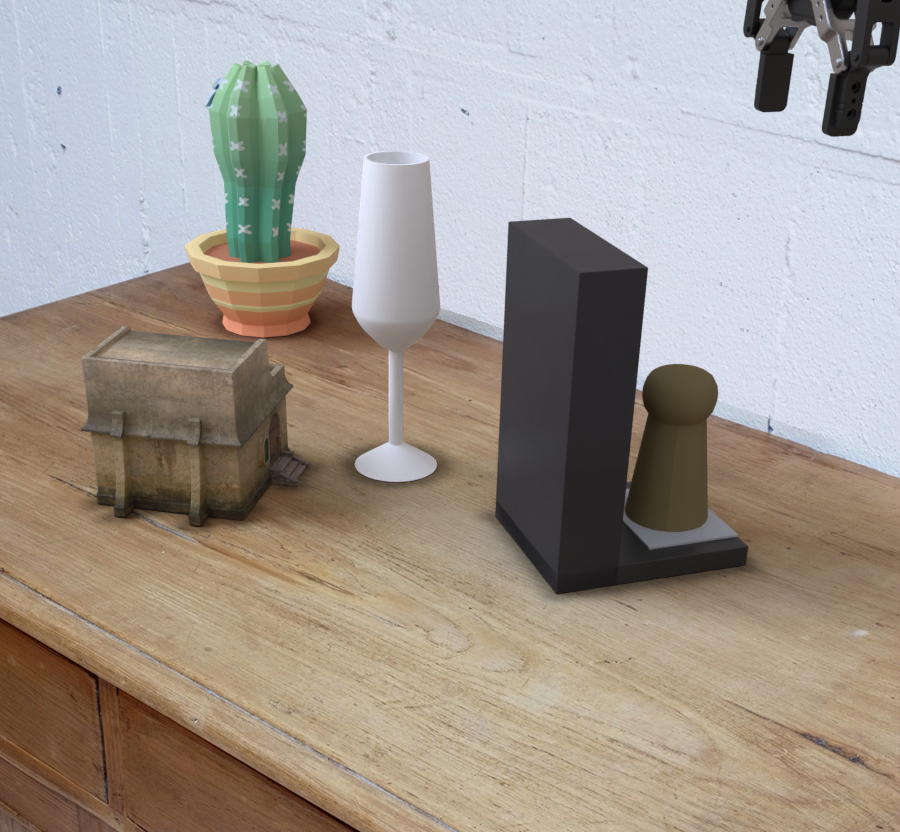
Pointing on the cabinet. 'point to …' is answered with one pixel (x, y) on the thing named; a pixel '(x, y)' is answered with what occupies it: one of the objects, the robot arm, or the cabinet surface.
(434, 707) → the cabinet surface
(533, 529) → the coffee maker
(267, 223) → the potted cactus
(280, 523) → the cabinet surface
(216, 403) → the miniature house
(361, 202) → the champagne flute
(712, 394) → the olive pawn figure
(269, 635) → the cabinet surface
